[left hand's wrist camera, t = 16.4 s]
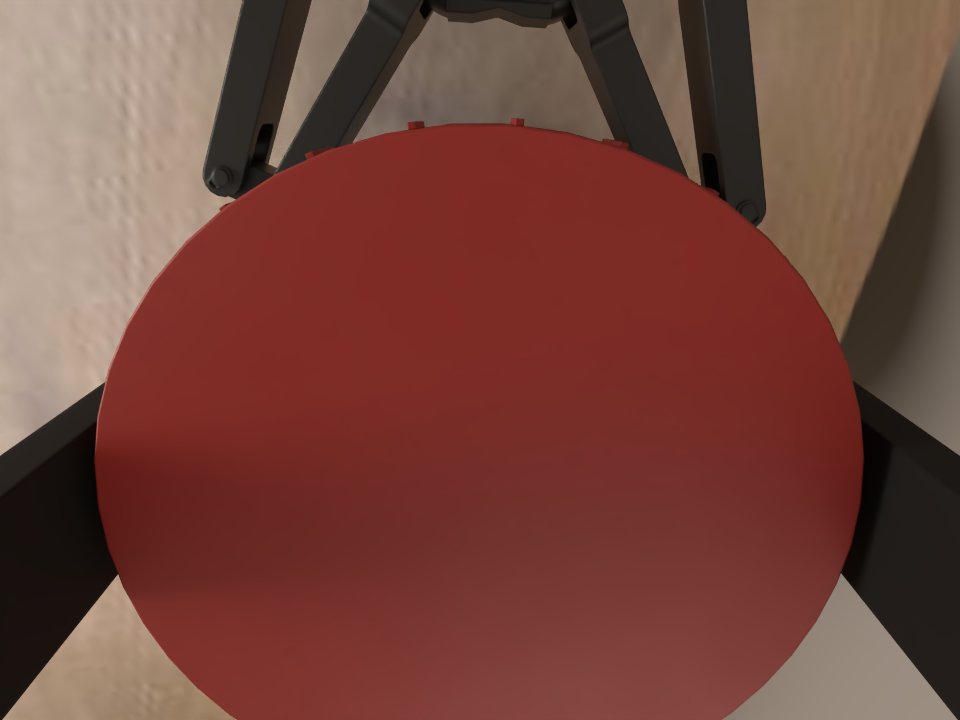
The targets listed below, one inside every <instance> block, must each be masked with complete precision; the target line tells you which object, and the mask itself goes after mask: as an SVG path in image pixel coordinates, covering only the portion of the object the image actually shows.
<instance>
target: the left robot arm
mask: <svg viewBox="0 0 960 720" xmlns="http://www.w3.org/2000/svg"><path fill="white" fill-rule="evenodd" d="M852 381H853V380H852ZM853 385H854V389H855V394H856V398H857V402H858V406H859V410H860V416H861V428H862V440H863V452H864V465H863V480H862V494H861V504H860V509H859V513H858V518H857V522H856V527H855V531H854V536H853V540H852V545H851V547H850V550H849V553H848V555H847V558H846V561H845V563H844V566H843V568H842V571H841V573H842V575H843V576H844V577H845V579H846V580H847V581H848V582H849V584H850V585H851V586H852V587H853V589H854V590H855V591H856V592H857V594H858V595H859V596H860V597H861V599H862V600H863V601H864V602H865V604H866V605H867V606H868V607H869V609H870V610H871V611H872V612H873V614H874V615H875V616H876V617H877V619H878V620H879V621H880V623H881V624H882V625H883V626H884V628H885V629H886V630H887V631H888V633H889V634H890V635H891V636H892V638H893V639H894V640H895V641H896V643H897V644H898V645H899V646H900V648H901V649H902V650H903V651H904V653H905V654H906V655H907V657H908V658H909V659H910V660H911V662H912V663H913V664H914V665H915V667H916V668H917V669H918V670H919V672H920V673H921V674H922V675H923V677H924V678H925V679H926V680H927V682H928V683H929V684H930V685H931V687H932V688H933V689H934V690H935V692H936V693H937V694H938V696H939V697H940V698H941V699H942V700H943V702H944V703H945V704H946V706H947V707H948V708H949V709H950V711H951V712H952V713H953V714H954V716H955V717H956V718H957V719H958V720H960V456H959V455H958V454H956V453H955V452H954V451H952V450H951V449H949V448H948V447H946V446H945V445H944V444H942V443H941V442H939V441H938V440H936V439H935V438H934V437H932V436H931V435H929V434H928V433H927V432H925V431H924V430H922V429H921V428H919V427H918V426H917V425H915V424H914V423H912V422H911V421H909V420H908V419H907V418H905V417H904V416H902V415H901V414H899V413H898V412H897V411H895V410H894V409H892V408H891V407H890V406H888V405H887V404H885V403H884V402H882V401H881V400H880V399H878V398H877V397H875V396H874V395H872V394H871V393H870V392H868V391H867V390H865V389H864V388H862V387H861V386H860V385H858V384H857V383H855V382H854V381H853ZM104 386H105V383H103V384H102V385H100V386H99V387H97V388H96V389H95V390H93V391H92V392H90V393H89V394H88V395H86V396H85V397H83V398H82V399H80V400H79V401H78V402H76V403H75V404H73V405H72V406H70V407H69V408H68V409H66V410H65V411H63V412H62V413H61V414H59V415H58V416H56V417H55V418H53V419H52V420H51V421H49V422H48V423H46V424H45V425H43V426H42V427H41V428H39V429H38V430H36V431H35V432H33V433H32V434H31V435H29V436H28V437H26V438H25V439H24V440H22V441H21V442H19V443H18V444H16V445H15V446H14V447H12V448H11V449H9V450H8V451H6V452H5V453H4V454H2V455H1V456H0V720H2V719H3V718H4V717H5V716H6V714H7V713H8V712H9V711H10V709H11V708H12V707H13V706H14V704H15V703H16V702H17V701H18V699H19V698H20V697H21V696H22V694H23V693H24V692H25V690H26V689H27V688H28V687H29V685H30V684H31V683H32V682H33V680H34V679H35V678H36V677H37V675H38V674H39V673H40V672H41V670H42V669H43V668H44V667H45V665H46V664H47V663H48V662H49V660H50V659H51V658H52V657H53V655H54V654H55V653H56V651H57V650H58V649H59V648H60V646H61V645H62V644H63V643H64V641H65V640H66V639H67V638H68V636H69V635H70V634H71V633H72V631H73V630H74V629H75V628H76V626H77V625H78V624H79V623H80V621H81V620H82V619H83V618H84V616H85V615H86V614H87V612H88V611H89V610H90V609H91V607H92V606H93V605H94V604H95V602H96V601H97V600H98V599H99V597H100V596H101V595H102V594H103V592H104V591H105V590H106V589H107V587H108V586H109V585H110V584H111V582H112V581H113V580H114V579H115V577H116V576H117V575H118V572H117V570H116V567H115V565H114V562H113V559H112V557H111V554H110V552H109V549H108V546H107V542H106V538H105V533H104V529H103V525H102V520H101V516H100V512H99V508H98V500H97V487H96V475H95V463H94V460H95V446H96V432H97V418H98V412H99V408H100V404H101V399H102V395H103V391H104Z"/></svg>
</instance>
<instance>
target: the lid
mask: <svg viewBox="0 0 960 720" xmlns="http://www.w3.org/2000/svg"><path fill="white" fill-rule="evenodd" d="M407 126H408V130H405V131H398V132H392V133H386V134H382V135H379V136H375V137H372V138H369V139H365V140H362V141H358V142H355V143H351V144H348V145H345V146H341V147H338V148H334V147H332V148H327V149H322V150H317V151H312V152H309V153H307V154H305V156H306V158H307V160H306V161H304V162H301V163H299V164H297V165H295V166H293V167H290V168H288V169H286V170H284V171H282V172H279V173H277V174H275V175H274V176H272V177H270V178H269V179H267V180H266V181H264V182H263V183H261V184H260V185H258V186H256V187H255V188H253V189H252V190H250V191H249V192H247V193H246V194H244V195H242V196H241V197H239V198H238V199H236V200H235V201H233V202H231V203H228V204H225V205H223V206H222V207H221V208H220V212H219V213H218V214H217V215H216V216H215V217H213V218H212V219H211V220H210V221H209V222H208V223H207V224H205V225H204V226H203V227H202V228H201V229H200V230H199V231H197V232H196V233H195V234H194V235H193V236H192V237H191V238H190V239H188V240H187V241H186V242H185V243H184V245H183V246H182V247H181V248H180V249H179V251H178V252H177V253H176V254H175V255H174V257H173V258H172V259H171V260H170V261H169V263H168V264H167V265H166V266H165V267H164V269H163V270H162V271H161V272H160V273H159V275H158V276H157V277H156V278H155V279H154V280H153V282H152V283H151V285H150V287H149V288H148V290H147V292H146V293H145V295H144V297H143V298H142V300H141V302H140V303H139V305H138V307H137V308H136V310H135V312H134V313H133V315H132V317H131V318H130V320H129V322H128V323H127V325H126V327H125V330H124V332H123V335H122V337H121V340H120V342H119V345H118V347H117V350H116V352H115V355H114V357H113V360H112V362H111V364H110V367H109V369H108V374H107V378H106V382H105V386H104V391H103V395H102V399H101V404H100V408H99V412H98V418H97V432H96V446H95V460H94V463H95V475H96V487H97V500H98V508H99V512H100V516H101V520H102V525H103V529H104V533H105V538H106V542H107V546H108V549H109V552H110V554H111V557H112V559H113V562H114V565H115V567H116V570H117V572H118V575H119V577H120V580H121V583H122V585H123V588H124V589H125V591H126V593H127V595H128V596H129V598H130V600H131V602H132V604H133V605H134V607H135V609H136V611H137V613H138V614H139V616H140V618H141V620H142V622H143V623H144V625H145V626H146V628H147V629H148V630H149V632H150V633H151V634H152V636H153V637H154V638H155V640H156V641H157V643H158V644H159V645H160V647H161V648H162V649H163V651H164V652H165V653H166V655H167V656H168V657H169V659H170V660H171V661H172V662H173V663H174V664H175V665H176V666H177V667H178V668H179V669H180V670H181V671H182V672H183V673H184V674H185V675H186V676H187V678H188V679H189V680H190V681H191V682H192V683H193V684H194V685H195V686H196V687H197V688H198V689H199V690H200V691H202V692H203V693H204V694H205V695H206V696H208V697H209V698H210V699H211V700H212V701H214V702H215V703H216V704H217V705H218V706H220V707H221V708H222V709H223V710H224V711H226V712H227V713H228V714H229V715H231V716H232V717H234V718H235V719H237V720H722V719H723V718H725V717H726V716H728V715H729V714H731V713H732V712H733V711H734V710H736V709H737V708H738V707H739V706H740V705H741V704H743V703H744V702H745V701H746V700H747V699H749V698H750V697H751V696H752V695H753V694H754V693H755V692H757V691H758V690H759V689H760V688H761V687H763V686H764V685H765V684H766V683H767V681H768V680H769V679H770V678H771V677H772V676H773V675H774V674H775V673H776V672H777V671H778V670H779V668H780V667H781V666H782V665H783V664H784V663H785V662H786V661H787V660H788V659H789V658H790V657H791V656H792V654H793V653H794V652H795V650H796V649H797V647H798V646H799V645H800V643H801V642H802V641H803V639H804V638H805V636H806V635H807V634H808V632H809V631H810V630H811V628H812V627H813V625H814V624H815V623H816V621H817V619H818V617H819V616H820V614H821V612H822V610H823V608H824V606H825V605H826V603H827V601H828V599H829V597H830V595H831V594H832V592H833V590H834V588H835V586H836V584H837V582H838V579H839V576H840V574H841V571H842V568H843V566H844V563H845V561H846V558H847V555H848V553H849V550H850V547H851V545H852V540H853V536H854V531H855V527H856V522H857V518H858V513H859V509H860V504H861V494H862V480H863V465H864V452H863V440H862V428H861V416H860V410H859V406H858V402H857V398H856V394H855V389H854V385H853V381H852V377H851V373H850V369H849V366H848V363H847V361H846V358H845V356H844V354H843V351H842V349H841V346H840V344H839V342H838V339H837V337H836V335H835V332H834V330H833V327H832V325H831V323H830V321H829V319H828V317H827V316H826V314H825V313H824V311H823V309H822V308H821V306H820V304H819V303H818V301H817V300H816V298H815V296H814V295H813V293H812V292H811V290H810V288H809V287H808V285H807V283H806V282H805V280H804V279H803V277H802V276H801V275H800V274H799V273H798V272H797V270H796V269H795V268H794V267H793V266H792V265H791V263H790V262H789V260H788V259H787V258H786V257H785V256H784V255H783V254H782V253H781V252H780V251H779V249H778V248H777V247H776V246H775V245H774V244H773V242H772V241H771V240H770V239H769V238H768V237H767V236H766V235H764V234H763V233H762V232H761V231H760V230H759V229H757V228H756V227H755V226H754V225H753V224H752V223H750V222H749V221H748V220H747V219H746V218H745V217H743V216H742V215H741V214H740V213H739V212H738V211H737V210H735V209H734V208H733V207H732V206H731V205H730V204H728V203H727V202H726V201H724V200H722V199H721V198H719V197H718V195H719V193H718V192H717V191H715V190H714V189H710V188H707V187H704V186H701V185H698V184H697V183H695V182H694V181H692V180H691V179H689V178H687V177H686V176H684V175H683V174H681V173H679V172H677V171H675V170H673V169H670V168H668V167H666V166H664V165H661V164H659V163H657V162H654V161H652V160H650V159H648V158H645V157H643V156H641V155H639V154H636V153H634V152H632V151H630V150H627V148H628V145H629V144H627V143H624V142H621V141H615V140H609V139H603V141H602V142H600V141H596V140H593V139H589V138H586V137H582V136H579V135H575V134H571V133H568V132H561V131H555V130H548V129H540V128H533V127H526V126H524V119H518V118H512V119H511V124H503V123H483V124H446V125H439V126H433V127H426V128H424V122H423V121H418V122H409V123H407ZM418 128H419V129H418Z"/></svg>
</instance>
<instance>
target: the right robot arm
mask: <svg viewBox="0 0 960 720" xmlns="http://www.w3.org/2000/svg"><path fill="white" fill-rule="evenodd" d="M311 1H312V0H243V1H242V5H241V9H240V14H239V18H238V22H237V26H236V31H235V35H234V39H233V44H232V48H231V52H230V56H229V61H228V65H227V69H226V74H225V78H224V82H223V86H222V91H221V95H220V99H219V104H218V108H217V112H216V116H215V121H214V125H213V129H212V133H211V138H210V142H209V146H208V151H207V155H206V159H205V163H204V168H203V180H204V182H205V185H206V186H207V188H208V189H209V190H210V191H211V192H212V193H214V194H216V195H217V196H223V197H227V196H229V197H232V198H234V199H238V198H239V197H241V196H242V195H244V194H246V193H247V192H249V191H250V190H252V189H253V188H255V187H256V186H258V185H260V184H261V183H263V182H264V181H266V180H267V179H269V178H270V177H272V176H274V175H275V174H277V173H279V172H282V171H284V170H286V169H288V168H290V167H293V166H295V165H297V164H299V163H301V162H304V161H306V160H307V158H306V156H305V154H307V153H309V152H312V151H317V150H322V149H327V148H332V147H334V148H338V147H341V146H345V145H348V144H351V143H352V142H353V141H354V139H355V137H356V136H357V134H358V132H359V131H360V129H361V127H362V126H363V124H364V122H365V121H366V119H367V117H368V116H369V114H370V112H371V111H372V109H373V107H374V106H375V104H376V102H377V101H378V99H379V97H380V96H381V94H382V92H383V91H384V89H385V87H386V86H387V84H388V82H389V81H390V79H391V77H392V76H393V74H394V72H395V70H396V69H397V67H398V65H399V64H400V62H401V60H402V59H403V57H404V55H405V54H406V52H407V50H408V49H409V47H410V46H411V44H412V43H413V42H414V41H415V40H416V39H417V37H418V36H419V34H420V33H421V31H422V29H423V28H424V26H425V24H426V23H427V21H428V19H429V18H430V16H431V14H432V13H433V11H435V12H436V13H438V14H440V15H442V16H444V17H447V18H448V21H450V22H465V23H475V22H479V21H484V20H488V19H493V18H500V19H503V20H506V21H508V22H511V23H514V24H516V25H519V26H522V27H535V28H546V27H547V25H549V24H553V23H556V22H558V21H560V20H561V22H562V24H563V26H564V29H565V31H566V33H567V36H568V38H569V40H570V43H571V45H572V47H573V49H574V50H575V52H576V53H577V55H578V56H579V58H580V60H581V62H582V64H583V67H584V69H585V71H586V74H587V76H588V78H589V81H590V83H591V85H592V88H593V90H594V92H595V95H596V97H597V99H598V102H599V104H600V106H601V109H602V111H603V113H604V116H605V118H606V120H607V123H608V125H609V127H610V130H611V132H612V134H613V137H614V139H615V141H621V142H624V143H627V144H629V145H628V148H627V150H630V151H632V152H634V153H636V154H639V155H641V156H643V157H645V158H648V159H650V160H652V161H654V162H657V163H659V164H661V165H664V166H666V167H668V168H670V169H673V170H675V171H677V172H679V173H681V174H683V175H684V176H686V177H687V178H688V175H687V173H686V170H685V168H684V165H683V163H682V160H681V158H680V155H679V153H678V150H677V148H676V145H675V143H674V140H673V138H672V135H671V133H670V130H669V128H668V125H667V123H666V120H665V118H664V115H663V113H662V110H661V108H660V105H659V103H658V100H657V98H656V95H655V93H654V90H653V88H652V85H651V83H650V80H649V78H648V75H647V73H646V70H645V68H644V65H643V63H642V60H641V58H640V55H639V53H638V50H637V48H636V45H635V43H634V40H633V38H632V35H631V33H630V29H629V22H628V16H627V12H626V9H625V6H624V4H623V1H622V0H369V4H368V8H367V11H366V13H365V15H364V16H363V18H362V20H361V22H360V24H359V25H358V27H357V29H356V31H355V32H354V34H353V36H352V38H351V39H350V41H349V43H348V45H347V46H346V48H345V50H344V52H343V53H342V55H341V57H340V59H339V60H338V62H337V64H336V66H335V68H334V69H333V71H332V73H331V75H330V76H329V78H328V80H327V82H326V83H325V85H324V87H323V89H322V90H321V92H320V94H319V96H318V97H317V99H316V101H315V103H314V104H313V106H312V108H311V110H310V112H309V113H308V115H307V117H306V119H305V120H304V122H303V124H302V126H301V127H300V129H299V131H298V133H297V134H296V136H295V138H294V140H293V141H292V143H291V145H290V147H289V148H288V150H287V152H286V154H285V155H284V157H283V159H282V161H281V163H280V164H279V166H278V168H276V167H273V166H271V165H269V164H268V163H269V159H270V155H271V152H272V148H273V144H274V140H275V136H276V133H277V129H278V125H279V121H280V118H281V114H282V110H283V106H284V103H285V99H286V95H287V91H288V87H289V84H290V80H291V76H292V72H293V69H294V65H295V61H296V57H297V54H298V50H299V46H300V42H301V38H302V35H303V31H304V27H305V23H306V20H307V16H308V12H309V8H310V5H311ZM678 4H679V14H680V22H681V30H682V38H683V46H684V53H685V61H686V69H687V77H688V85H689V93H690V101H691V109H692V116H693V124H694V132H695V140H696V148H697V156H698V164H699V172H700V179H701V186H704V187H707V188H710V189H714V190H715V191H717V192H718V193H719V195H718V197H719V198H721V199H722V200H724V201H726V202H727V203H728V204H730V205H731V206H732V207H733V208H734V209H735V210H737V211H738V212H739V213H740V214H741V215H742V216H743V217H745V218H746V219H747V220H748V221H749V222H750V223H752V224H753V225H754V226H755V227H756V226H757V225H758V224H759V223H761V222H762V220H763V218H764V216H765V213H766V200H765V190H764V179H763V169H762V158H761V148H760V137H759V127H758V117H757V106H756V96H755V85H754V75H753V64H752V54H751V43H750V33H749V22H748V12H747V1H746V0H678Z"/></svg>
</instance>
